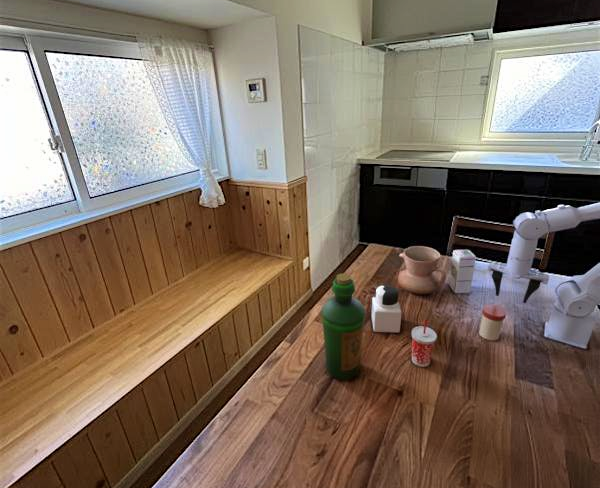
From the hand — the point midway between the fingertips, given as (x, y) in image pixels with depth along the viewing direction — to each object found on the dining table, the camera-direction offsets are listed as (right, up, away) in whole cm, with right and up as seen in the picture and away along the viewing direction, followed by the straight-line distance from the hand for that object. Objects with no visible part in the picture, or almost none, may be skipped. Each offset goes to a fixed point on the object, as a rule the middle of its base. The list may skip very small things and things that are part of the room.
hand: (510, 297), depth 98 cm
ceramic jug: (-18, -1, +25) cm, 31 cm away
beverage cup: (-29, -16, -7) cm, 34 cm away
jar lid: (-6, -3, -3) cm, 8 cm away
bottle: (-50, -17, -9) cm, 54 cm away
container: (-35, -10, +7) cm, 37 cm away
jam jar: (-6, -11, +1) cm, 12 cm away
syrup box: (-4, -1, +23) cm, 24 cm away
